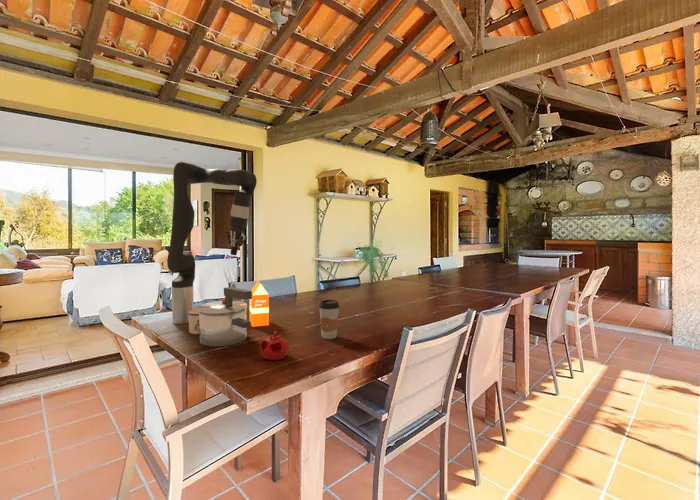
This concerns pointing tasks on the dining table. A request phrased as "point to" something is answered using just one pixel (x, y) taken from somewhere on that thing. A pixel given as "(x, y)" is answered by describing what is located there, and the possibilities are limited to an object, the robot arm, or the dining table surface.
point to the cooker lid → (227, 302)
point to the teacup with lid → (194, 321)
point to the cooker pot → (223, 328)
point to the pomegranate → (274, 347)
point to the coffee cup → (329, 318)
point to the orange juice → (259, 306)
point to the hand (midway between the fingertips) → (233, 254)
